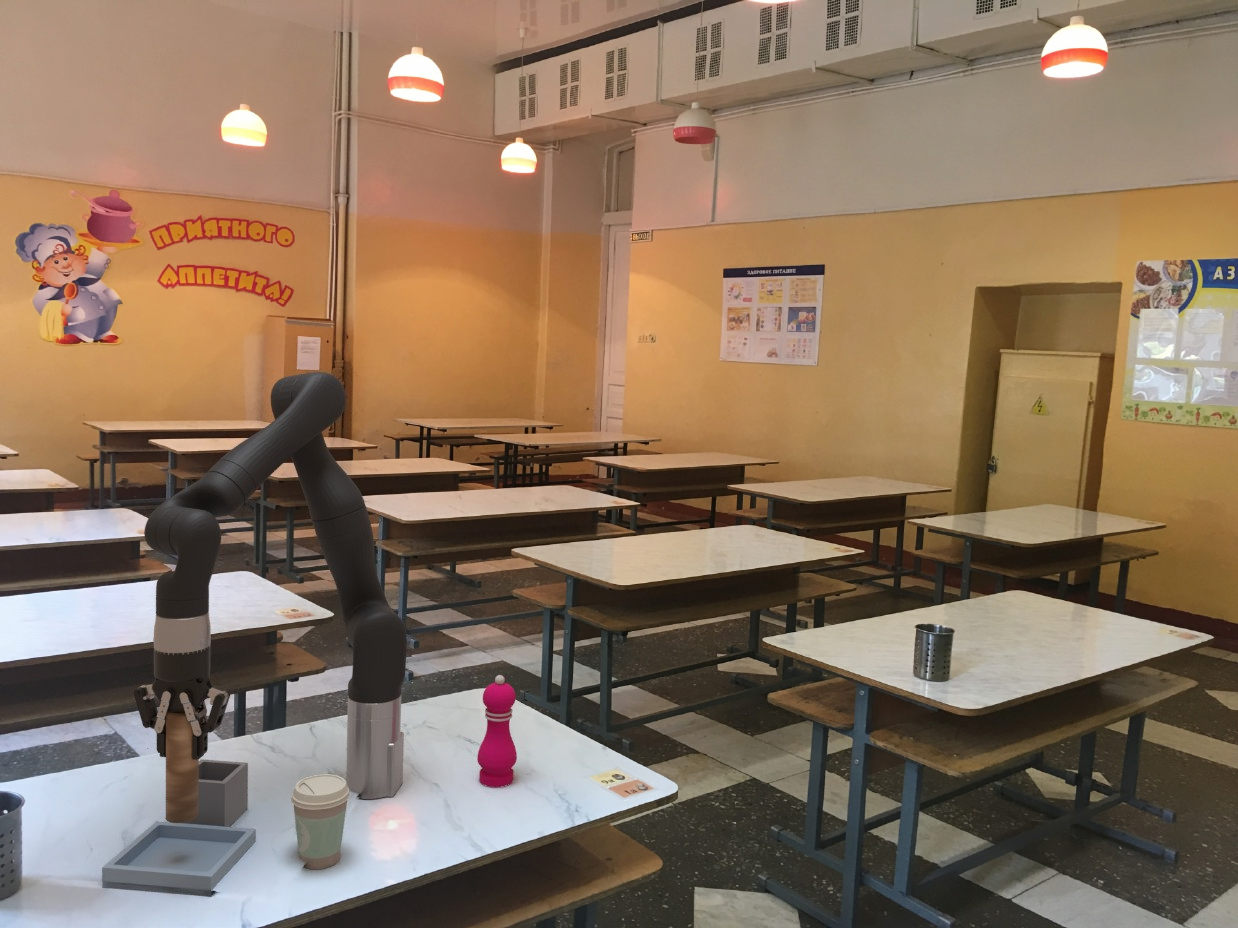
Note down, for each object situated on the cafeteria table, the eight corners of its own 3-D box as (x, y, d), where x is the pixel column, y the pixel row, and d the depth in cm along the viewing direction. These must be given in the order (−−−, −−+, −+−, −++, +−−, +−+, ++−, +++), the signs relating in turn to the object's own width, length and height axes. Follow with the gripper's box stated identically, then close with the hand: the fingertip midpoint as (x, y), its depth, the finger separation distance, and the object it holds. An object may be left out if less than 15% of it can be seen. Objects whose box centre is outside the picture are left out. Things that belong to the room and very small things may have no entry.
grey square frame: (247, 814, 158) (247, 762, 157) (224, 837, 150) (224, 783, 149) (201, 810, 159) (201, 759, 158) (175, 834, 151) (175, 779, 150)
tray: (255, 847, 148) (255, 828, 148) (211, 896, 134) (211, 876, 134) (156, 839, 149) (156, 820, 149) (102, 887, 135) (102, 867, 135)
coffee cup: (298, 845, 149) (299, 771, 148) (353, 845, 150) (354, 772, 149) (283, 874, 141) (284, 796, 139) (342, 874, 141) (343, 797, 140)
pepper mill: (469, 783, 174) (472, 677, 172) (489, 768, 180) (492, 666, 178) (504, 791, 171) (507, 684, 169) (522, 776, 178) (526, 672, 176)
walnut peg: (203, 810, 143) (204, 707, 141) (188, 824, 138) (189, 718, 137) (175, 807, 143) (176, 705, 142) (159, 821, 139) (159, 715, 137)
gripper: (242, 639, 141) (240, 749, 143) (149, 632, 142) (149, 742, 144) (217, 654, 134) (216, 770, 136) (120, 647, 135) (120, 762, 137)
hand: (181, 755), depth 140 cm, fingers closed on walnut peg, 4 cm apart
